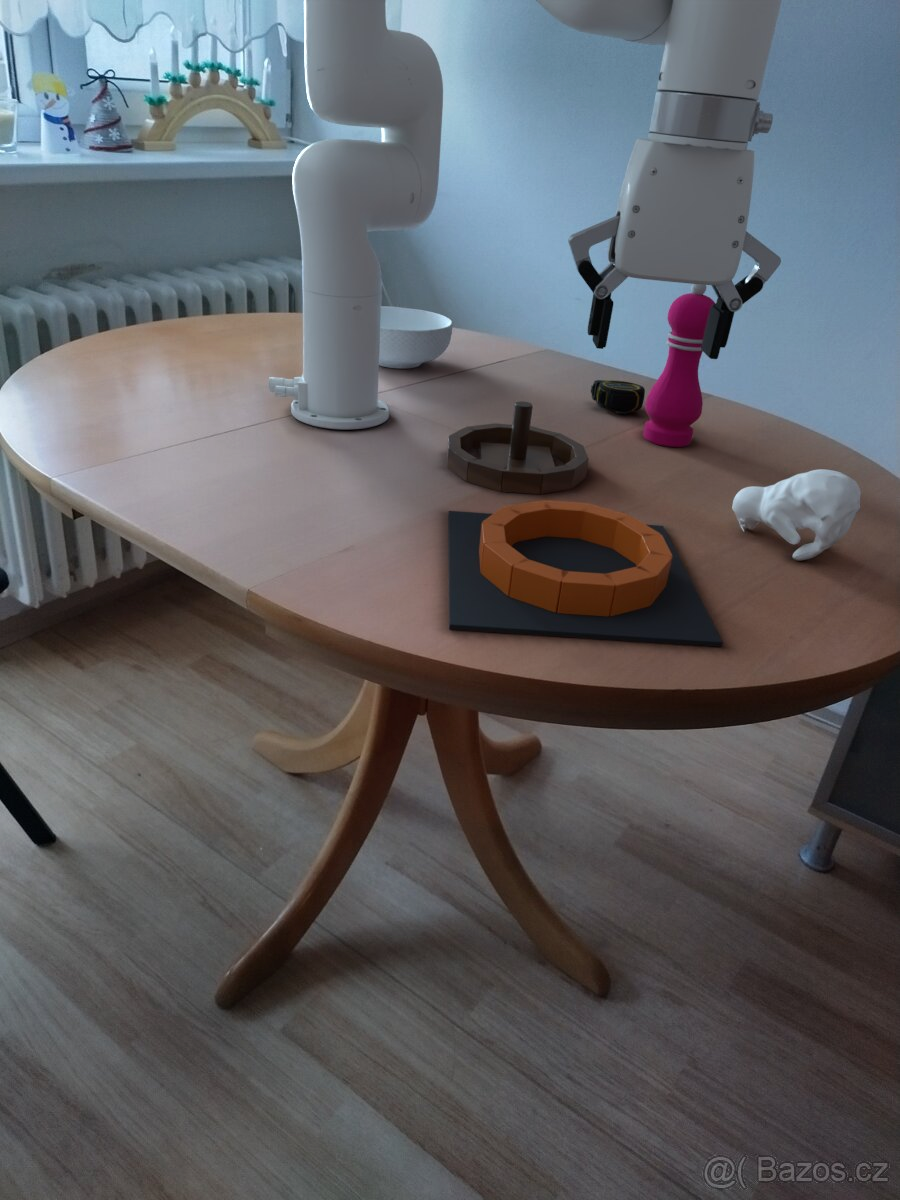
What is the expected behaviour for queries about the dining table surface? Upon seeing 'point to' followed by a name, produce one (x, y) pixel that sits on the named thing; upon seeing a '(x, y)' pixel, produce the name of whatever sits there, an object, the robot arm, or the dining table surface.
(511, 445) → the post
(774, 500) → the white animal figurine
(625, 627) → the mat
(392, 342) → the cereal bowl
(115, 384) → the dining table surface
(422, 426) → the dining table surface
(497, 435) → the walnut ring
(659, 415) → the pepper mill
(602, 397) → the tape measure
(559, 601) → the orange ring
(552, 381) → the dining table surface
